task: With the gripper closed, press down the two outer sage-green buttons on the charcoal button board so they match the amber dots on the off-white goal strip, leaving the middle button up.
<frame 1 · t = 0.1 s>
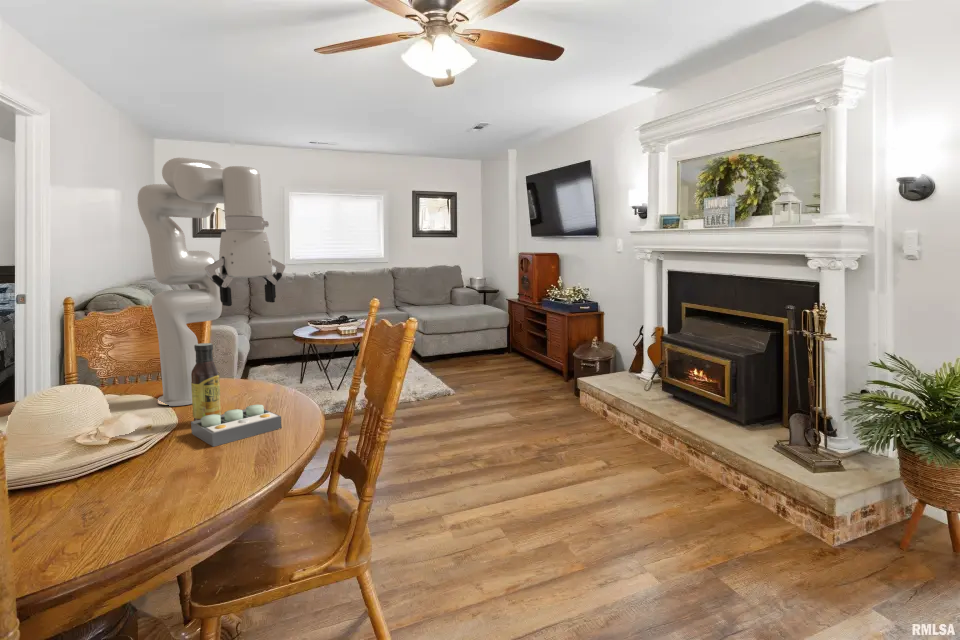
hand: (249, 303, 117), 31 cm above the table, tool pointing down, fingers open, 9 cm apart
end button b: (255, 412, 130), point 3 cm above the table, slide at 0.0 cm
button board: (237, 431, 126), on the table
sauce bottle: (208, 422, 132), on the table
end button a: (211, 423, 122), point 3 cm above the table, slide at 0.0 cm
middle button: (233, 418, 126), point 3 cm above the table, slide at 0.0 cm
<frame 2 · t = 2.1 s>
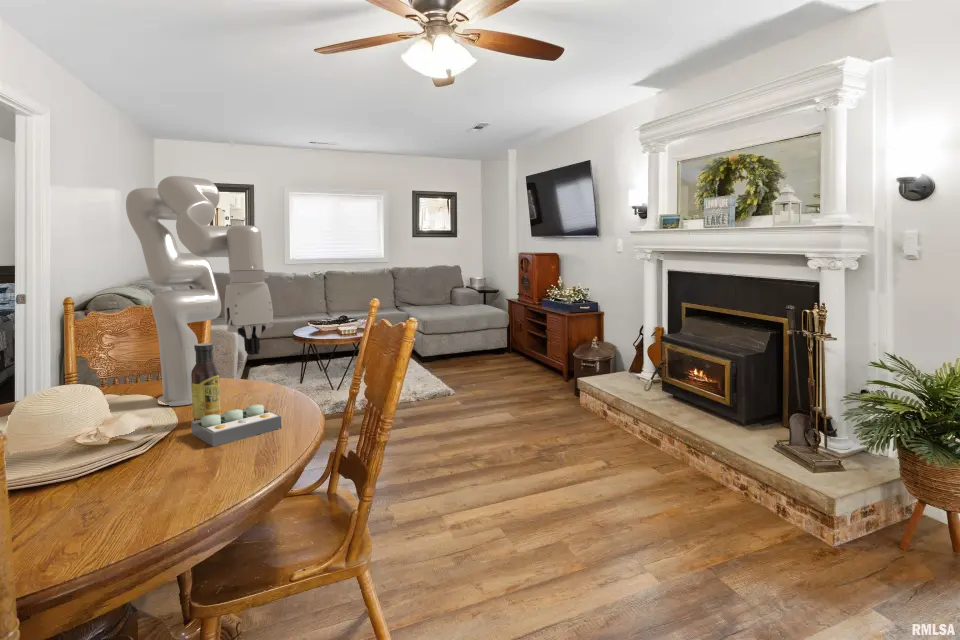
hand: (252, 353, 128), 18 cm above the table, tool pointing down, fingers closed
nothing on the table moved.
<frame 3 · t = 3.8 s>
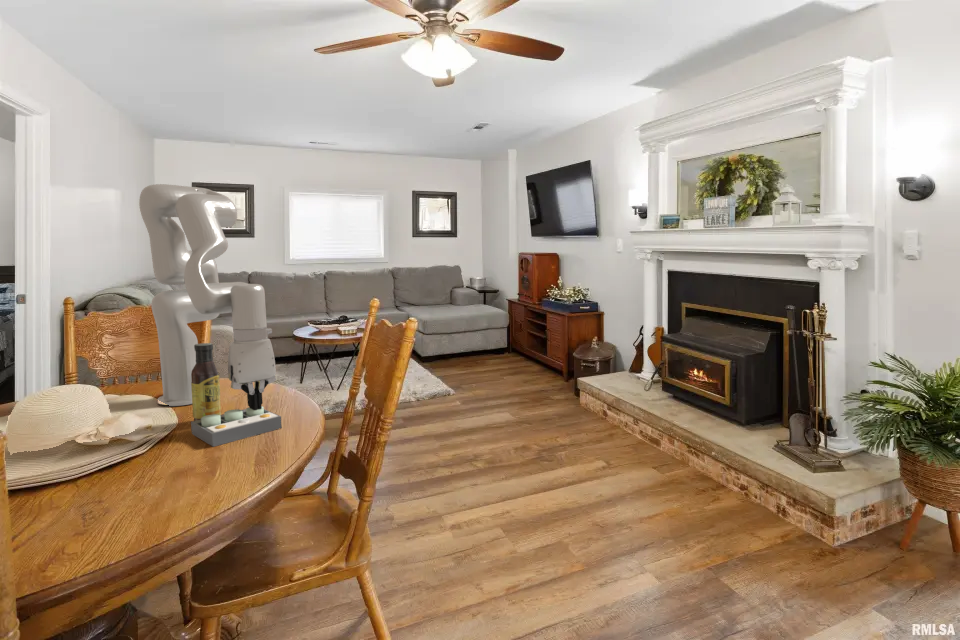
hand: (255, 408, 130), 4 cm above the table, tool pointing down, fingers closed
end button b: (255, 414, 130), point 3 cm above the table, slide at 0.3 cm, touching gripper
everything else where it was.
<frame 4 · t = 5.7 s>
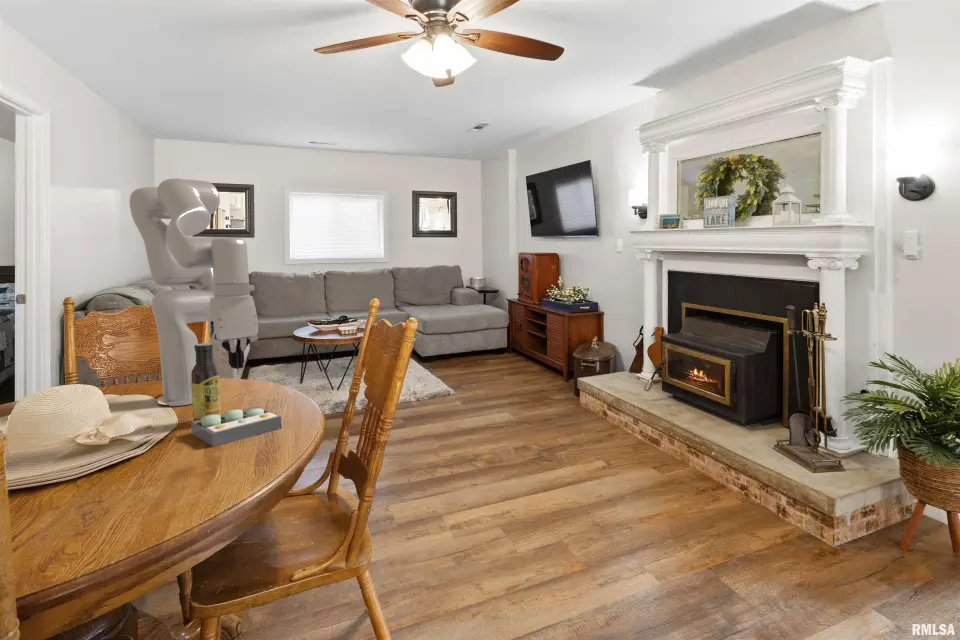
hand: (236, 367, 126), 15 cm above the table, tool pointing down, fingers closed
end button b: (255, 416, 130), point 2 cm above the table, slide at 1.0 cm
everything else where it was.
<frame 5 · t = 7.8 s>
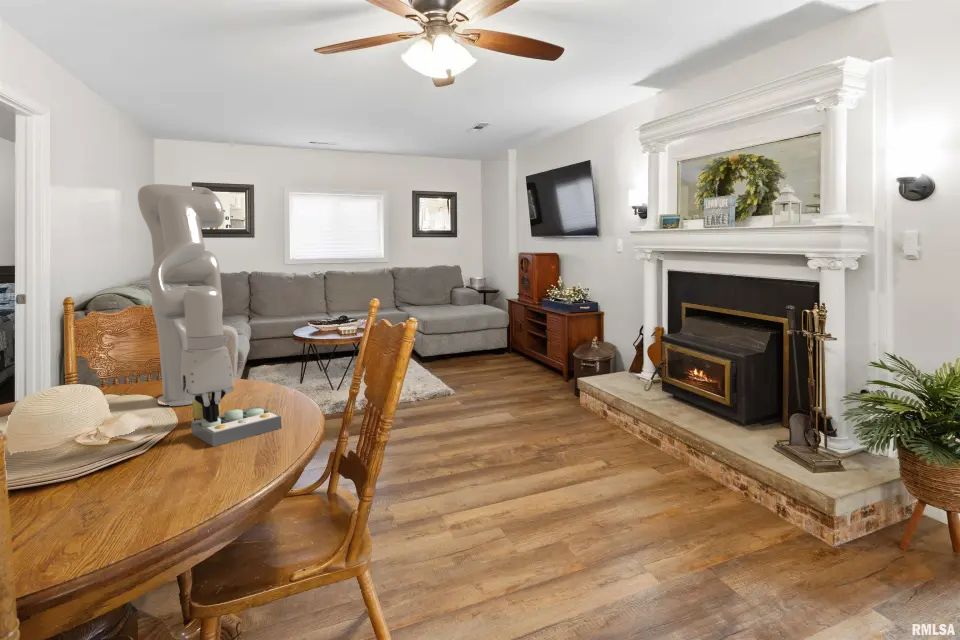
hand: (211, 420, 122), 4 cm above the table, tool pointing down, fingers closed
end button a: (211, 426, 123), point 2 cm above the table, slide at 0.8 cm, touching gripper
everything else where it was.
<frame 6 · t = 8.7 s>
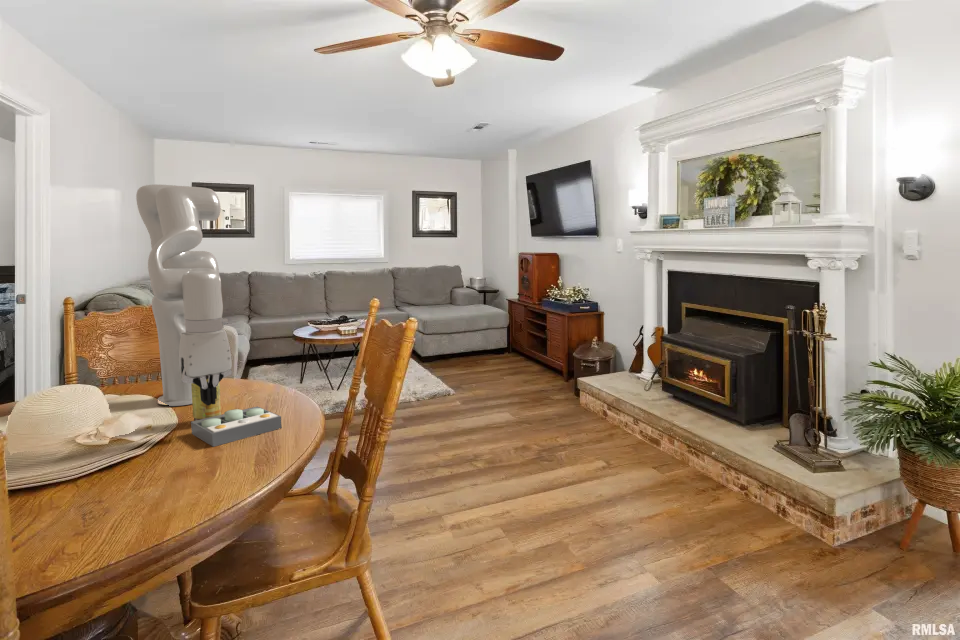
hand: (209, 403, 122), 8 cm above the table, tool pointing down, fingers closed
end button a: (211, 427, 123), point 2 cm above the table, slide at 1.0 cm
everything else where it was.
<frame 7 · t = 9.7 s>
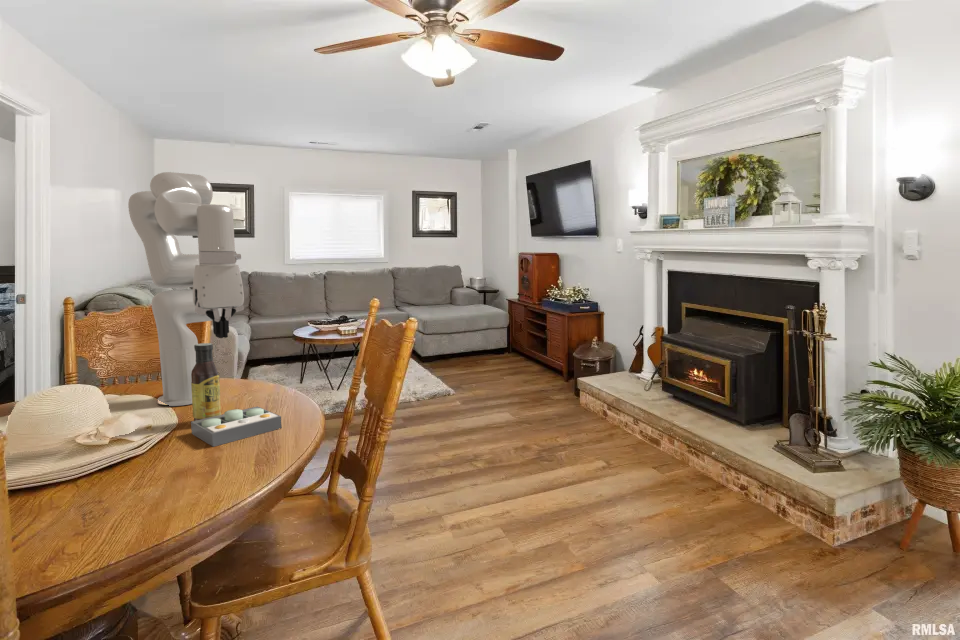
hand: (221, 336, 125), 22 cm above the table, tool pointing down, fingers closed
nothing on the table moved.
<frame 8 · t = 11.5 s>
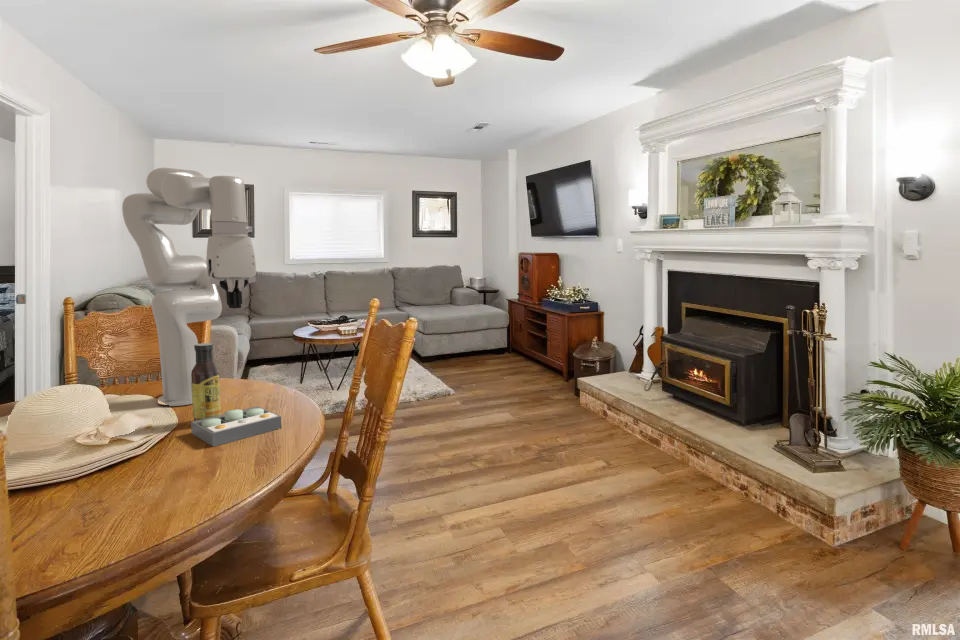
hand: (234, 307, 127), 29 cm above the table, tool pointing down, fingers closed
nothing on the table moved.
at the end: end button a slide at 1.0 cm; end button b slide at 1.0 cm; middle button slide at 0.0 cm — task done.
